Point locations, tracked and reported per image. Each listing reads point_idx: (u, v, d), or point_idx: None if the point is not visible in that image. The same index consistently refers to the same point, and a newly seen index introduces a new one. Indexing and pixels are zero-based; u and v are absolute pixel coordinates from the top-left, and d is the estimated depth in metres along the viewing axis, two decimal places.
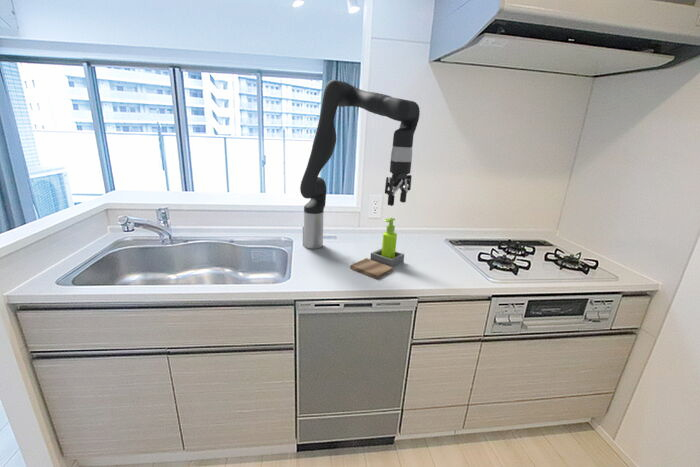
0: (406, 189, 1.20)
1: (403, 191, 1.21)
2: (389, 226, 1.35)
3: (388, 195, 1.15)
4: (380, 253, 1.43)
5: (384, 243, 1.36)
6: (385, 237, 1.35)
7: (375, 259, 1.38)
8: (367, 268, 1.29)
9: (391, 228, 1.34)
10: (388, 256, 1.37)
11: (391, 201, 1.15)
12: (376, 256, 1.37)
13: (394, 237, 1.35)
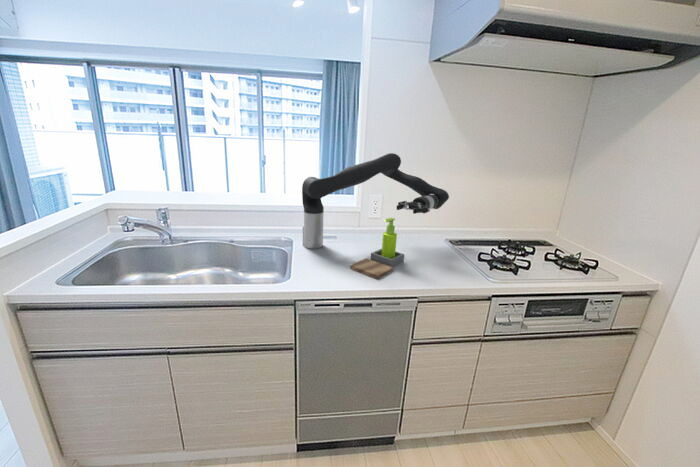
0: (403, 208, 1.48)
1: (402, 206, 1.47)
2: (389, 226, 1.35)
3: (420, 209, 1.41)
4: (380, 253, 1.43)
5: (384, 243, 1.36)
6: (385, 237, 1.35)
7: (375, 259, 1.38)
8: (367, 268, 1.29)
9: (391, 228, 1.34)
10: (388, 256, 1.37)
11: None
12: (376, 256, 1.37)
13: (394, 237, 1.35)
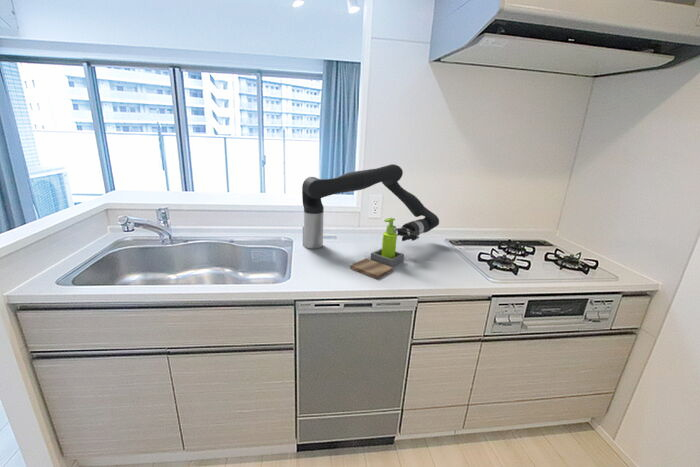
0: None
1: None
2: (389, 226, 1.35)
3: (409, 236, 1.40)
4: (380, 253, 1.43)
5: (384, 243, 1.36)
6: (385, 237, 1.35)
7: (375, 259, 1.38)
8: (367, 268, 1.29)
9: (391, 228, 1.34)
10: (388, 256, 1.37)
11: (405, 239, 1.39)
12: (376, 256, 1.37)
13: (394, 237, 1.35)
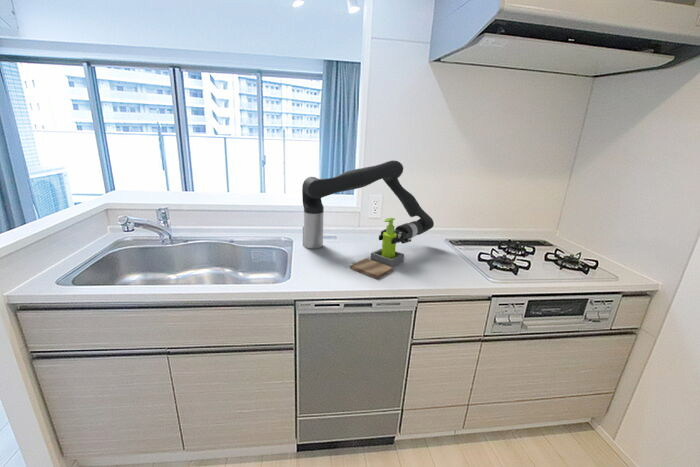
0: None
1: None
2: (389, 226, 1.35)
3: (399, 239, 1.35)
4: (380, 253, 1.43)
5: (384, 243, 1.36)
6: (384, 237, 1.35)
7: (375, 259, 1.38)
8: (367, 268, 1.29)
9: (391, 228, 1.34)
10: (388, 256, 1.37)
11: (395, 242, 1.34)
12: (376, 256, 1.37)
13: (394, 237, 1.35)
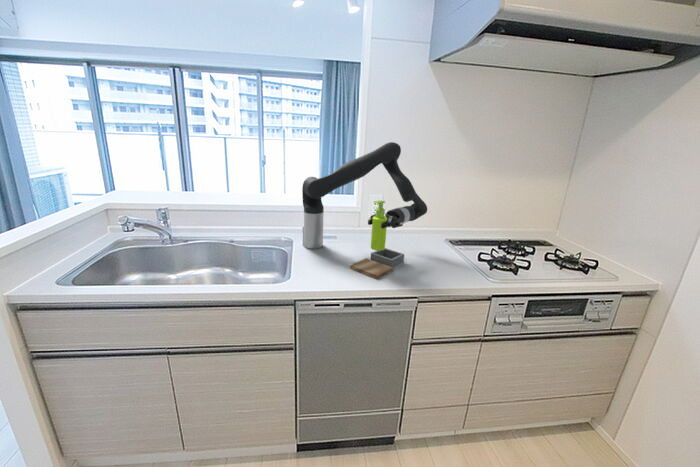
0: None
1: None
2: (379, 209, 1.26)
3: (389, 223, 1.26)
4: (380, 253, 1.43)
5: (373, 228, 1.27)
6: (374, 221, 1.27)
7: (375, 259, 1.38)
8: (367, 268, 1.29)
9: (381, 211, 1.25)
10: (378, 242, 1.28)
11: (385, 227, 1.25)
12: (376, 256, 1.37)
13: (384, 221, 1.26)
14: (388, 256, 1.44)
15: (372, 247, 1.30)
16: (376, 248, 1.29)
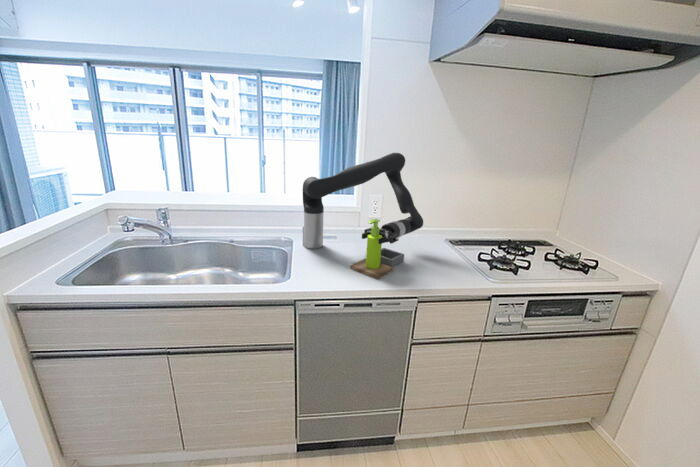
0: None
1: (368, 234, 1.32)
2: (373, 228, 1.26)
3: (387, 238, 1.26)
4: None
5: (368, 246, 1.27)
6: (369, 240, 1.26)
7: None
8: (367, 268, 1.29)
9: (376, 230, 1.25)
10: (373, 260, 1.28)
11: (383, 242, 1.25)
12: None
13: None
14: (388, 256, 1.44)
15: (367, 265, 1.30)
16: (371, 266, 1.29)
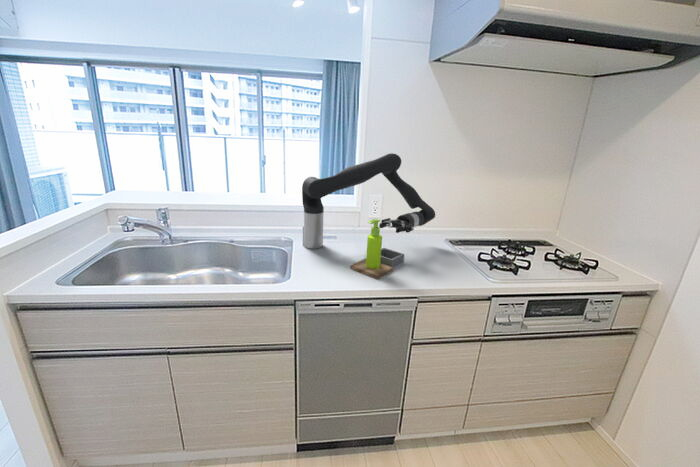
0: None
1: (385, 224, 1.42)
2: (374, 228, 1.26)
3: (403, 227, 1.36)
4: None
5: (368, 246, 1.27)
6: (369, 240, 1.26)
7: None
8: (367, 268, 1.29)
9: (376, 230, 1.25)
10: (373, 260, 1.28)
11: (400, 231, 1.35)
12: None
13: (379, 240, 1.26)
14: (388, 256, 1.44)
15: (367, 265, 1.30)
16: (371, 266, 1.29)
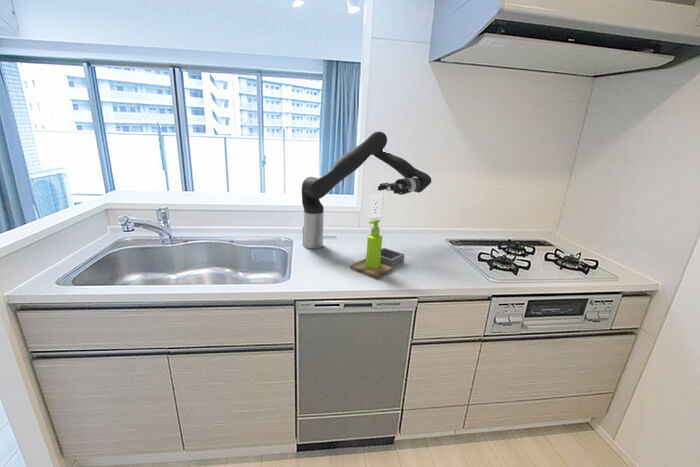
0: (385, 189, 1.49)
1: (384, 187, 1.48)
2: (374, 228, 1.26)
3: (401, 189, 1.42)
4: None
5: (368, 246, 1.27)
6: (369, 240, 1.26)
7: None
8: (367, 268, 1.29)
9: (376, 230, 1.25)
10: (373, 260, 1.28)
11: None
12: None
13: (379, 240, 1.26)
14: (388, 256, 1.44)
15: (367, 265, 1.30)
16: (371, 266, 1.29)
